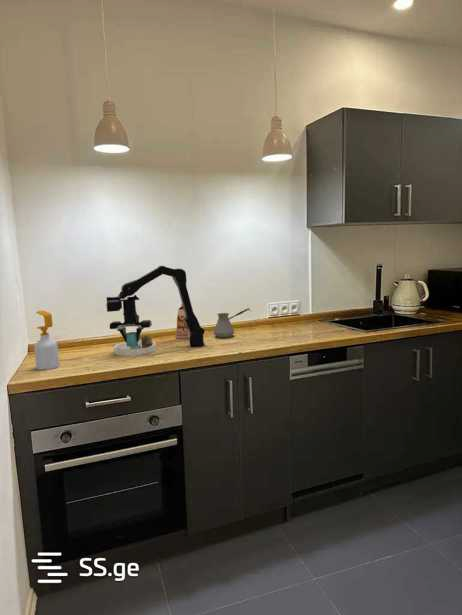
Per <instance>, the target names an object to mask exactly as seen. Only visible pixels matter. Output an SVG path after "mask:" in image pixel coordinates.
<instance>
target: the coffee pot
mask: <svg viewBox="0 0 462 615" xmlns="http://www.w3.org/2000/svg"><path fill="white" fill-rule="evenodd" d="M247 311H249V312H251V309H250V308H249V307H248V308H245V309H244V310H242V311H240V312H237V313H236V314H233V315H232V316H230V317H229V315H230V313H228V312H221V313H217V316H218V319H217V321H216V323H215V324H216V325H215V327H214V330H213V334H214V336H216V337H217V338H219V339H229V338H231V337H232V336H233V335H234V334H235V330H234V327H233V325H232V324H231V321H230V320H231V319H233V318H235V317H237V316H239V315H242V314H244V313H245V312H247Z"/></svg>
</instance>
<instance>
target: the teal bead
mask: <svg viewBox="0 0 462 615" xmlns="http://www.w3.org/2000/svg"><path fill="white" fill-rule="evenodd" d="M126 340H127V346H128V347H133V346H137V345H138V342H137V335H136V331H131V332H126Z"/></svg>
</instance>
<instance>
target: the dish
mask: <svg viewBox="0 0 462 615" xmlns="http://www.w3.org/2000/svg"><path fill="white" fill-rule="evenodd" d="M157 349H158V345H157V342H155V341H154V340H152V346H149V347H146V348H142V342H141V340H139V341H138V345H137V346H133V347H128V346H127V343H126V342H125V341H124V342H121V343H117V344H115V345H114V346H113V353H114V354H115V355H117V356H124V357H131V356H132V357H133V356H134V357H135V356H141V355H148V354H150V353H154V352H156V351H157Z"/></svg>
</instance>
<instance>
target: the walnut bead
mask: <svg viewBox="0 0 462 615" xmlns="http://www.w3.org/2000/svg"><path fill="white" fill-rule="evenodd" d="M140 339H141V340H140V341H141V342H142V348H146V347H149V346H152V341H153V340H152V339H153V338H152V335H142V336H140Z"/></svg>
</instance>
